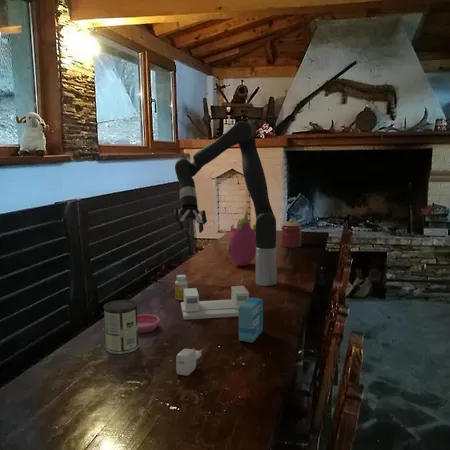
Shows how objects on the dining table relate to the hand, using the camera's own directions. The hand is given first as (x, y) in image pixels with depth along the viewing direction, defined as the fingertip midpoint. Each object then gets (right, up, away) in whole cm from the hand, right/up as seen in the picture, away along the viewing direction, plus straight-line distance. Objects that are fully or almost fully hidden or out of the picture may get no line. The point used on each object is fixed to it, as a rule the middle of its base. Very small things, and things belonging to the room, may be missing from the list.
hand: (191, 231), depth 209 cm
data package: (+23, -35, -47) cm, 63 cm away
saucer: (-15, -34, -39) cm, 54 cm away
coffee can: (-18, -36, -56) cm, 69 cm away
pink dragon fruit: (+24, -19, +51) cm, 59 cm away
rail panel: (+11, -30, -21) cm, 39 cm away
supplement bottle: (-4, -28, -6) cm, 29 cm away
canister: (+57, -11, +103) cm, 118 cm away
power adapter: (+4, -38, -70) cm, 80 cm away
